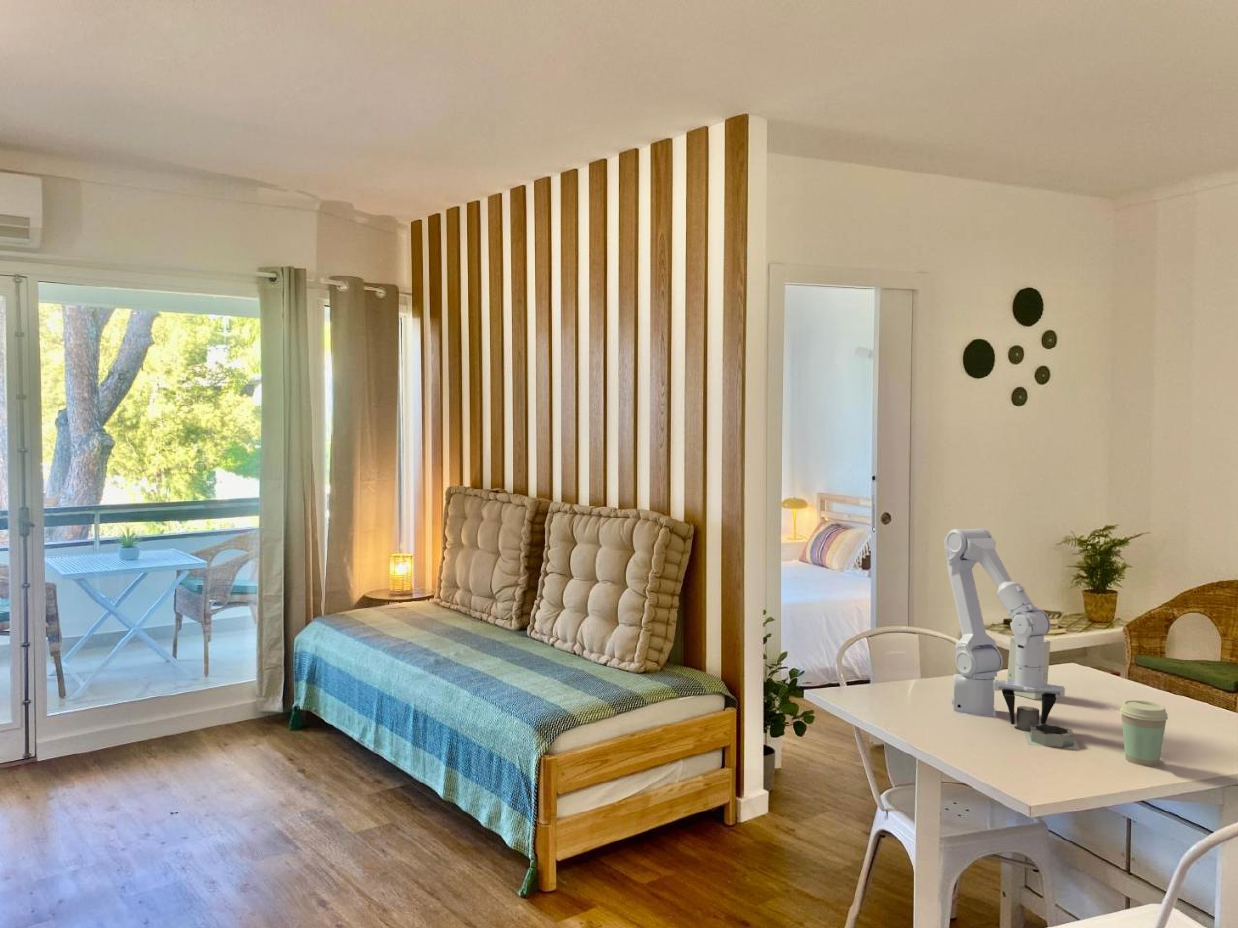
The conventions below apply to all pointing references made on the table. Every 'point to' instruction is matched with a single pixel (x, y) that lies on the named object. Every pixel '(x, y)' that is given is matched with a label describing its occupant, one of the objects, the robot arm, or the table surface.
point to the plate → (1048, 746)
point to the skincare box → (1013, 661)
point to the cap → (1027, 717)
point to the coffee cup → (1143, 731)
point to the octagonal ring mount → (1051, 735)
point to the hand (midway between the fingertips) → (1027, 724)
